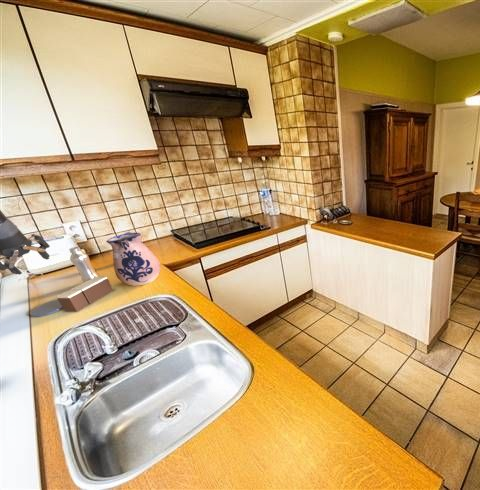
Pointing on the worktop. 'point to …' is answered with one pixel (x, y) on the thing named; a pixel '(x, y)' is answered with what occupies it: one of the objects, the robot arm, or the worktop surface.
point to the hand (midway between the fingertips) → (33, 265)
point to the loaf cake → (94, 288)
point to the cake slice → (72, 300)
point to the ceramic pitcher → (133, 260)
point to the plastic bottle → (82, 264)
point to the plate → (46, 308)
